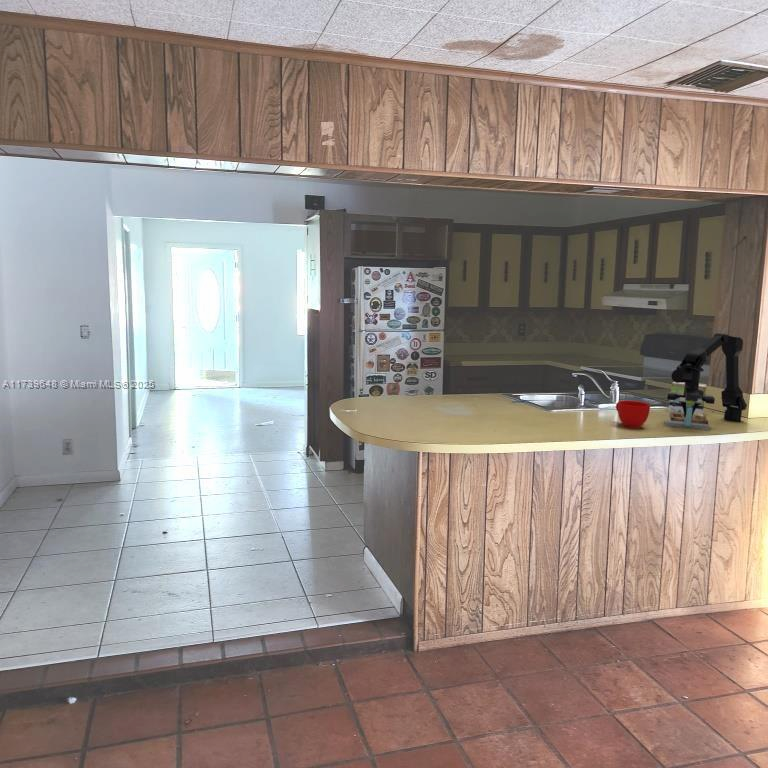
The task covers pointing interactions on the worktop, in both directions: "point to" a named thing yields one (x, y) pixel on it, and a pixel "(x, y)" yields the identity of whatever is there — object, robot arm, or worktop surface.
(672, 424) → the mat
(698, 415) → the offcut upper
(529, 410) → the worktop surface
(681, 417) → the tray
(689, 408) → the teal flat block
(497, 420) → the worktop surface
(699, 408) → the tea box
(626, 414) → the ceramic cup
